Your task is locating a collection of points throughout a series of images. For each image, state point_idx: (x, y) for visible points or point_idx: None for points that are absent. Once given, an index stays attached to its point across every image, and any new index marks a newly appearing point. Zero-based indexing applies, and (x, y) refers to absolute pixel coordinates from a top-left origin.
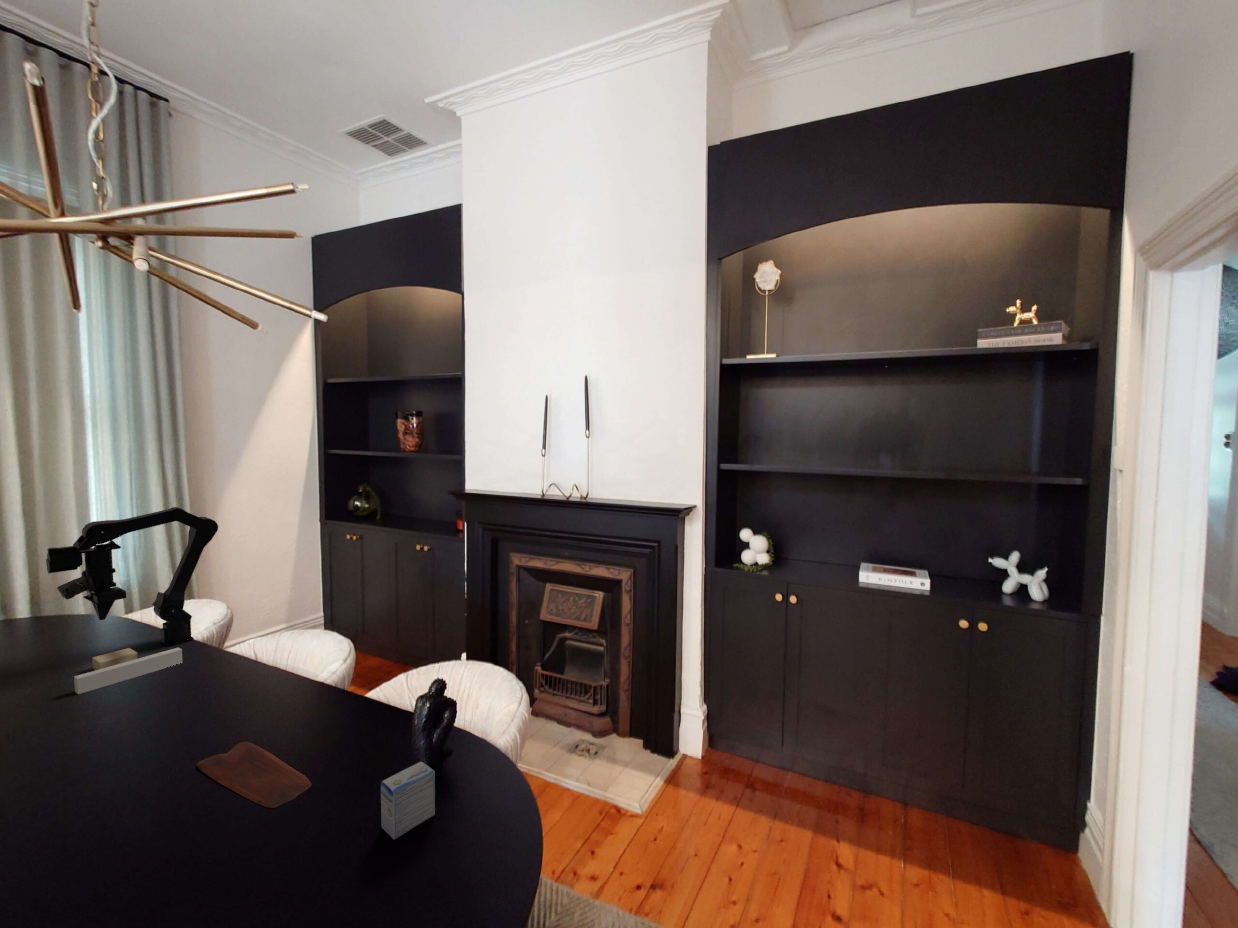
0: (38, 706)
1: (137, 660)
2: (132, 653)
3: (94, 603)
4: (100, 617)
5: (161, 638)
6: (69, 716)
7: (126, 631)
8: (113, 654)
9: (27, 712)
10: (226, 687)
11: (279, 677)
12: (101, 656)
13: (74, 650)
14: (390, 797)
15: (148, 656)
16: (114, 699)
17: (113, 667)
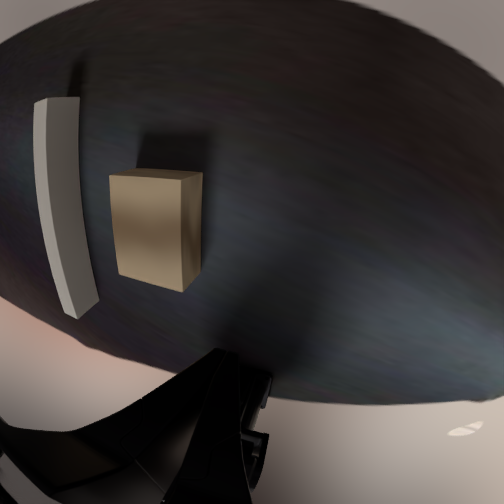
0: (73, 39)
1: (48, 233)
2: (121, 264)
3: (180, 480)
4: (200, 362)
5: (246, 376)
6: (19, 86)
7: (450, 374)
8: (153, 234)
9: (68, 26)
10: (3, 254)
11: (8, 294)
12: (164, 203)
13: (466, 238)
14: None
15: (58, 259)
16: (21, 147)
17: (40, 180)
